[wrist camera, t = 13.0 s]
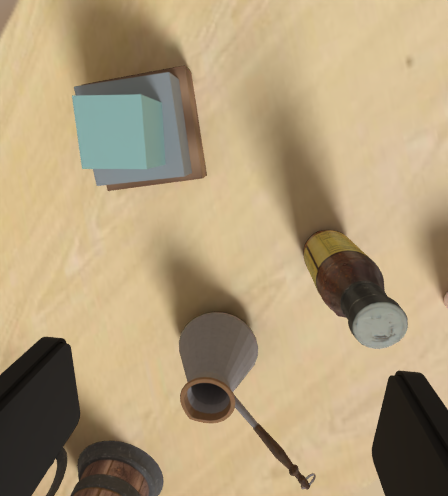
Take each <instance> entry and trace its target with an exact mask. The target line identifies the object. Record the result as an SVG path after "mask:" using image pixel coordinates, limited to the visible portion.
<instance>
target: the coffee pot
mask: <svg viewBox="0 0 448 496" xmlns="http://www.w3.org/2000/svg"><path fill="white" fill-rule="evenodd" d="M179 352H180V355H181V359H182V363H183V367H184V370H185V374H186V378H187V381H188V383H187V384H186V385H185V386H184V387H183V389H182V391H181V394H180V401H181V405H182V407H183V409H184V411H185V413H186V414H187V416H188V417H189V419H192V420H195V421H199V422H203V423H218V422H221V421H224V420H225V419H227V418H228V417H229V416H230V415H231V414H232V413H233V411H234V408H236V409H237V410H238V411H239V412H240V414H241V415H242V416H243V417H244V418H245V419H246V420H247V421H248V423H249V424H250V425H251V426H252V427H253V429H254V430H255V432H256V433H257V434H258V435H259V437H260V438H261V439H262V441H263V442H264V443H265V444H266V446H267V447H268V448H269V450H270V451H271V452H272V454H273V455H274V456H275V457H276V458H277V459H278V460H279V461H280V462H281V463H282V464H283V465H284V466H286V467H287V468H288V469H289V473H290V475H292V476H295V477H296V478H297V479H298V481H299V483H300V484H301V488H302V489H307V490H308V489H309V488H310V485H311V484H312V482H313V481H314V480H315V477H316V476H315V474H310V475H308V476H307V477H306V478H305V477H304V476H303V475H301V473H300V472H299V470H298V466H297V465H293V464H292V462H291V461H290V459H289V458H288V456H287V455H286V453H285V452H284V450H283V449H282V448H281V447H280V445H279V444H278V443H277V442H276V441H275V440H274V439H273V438H272V437H271V436H270V435H269V434H268V433H267V432H266V431H265V430H264V429H263V428H262V427H261V426H260V424H259V423H257V422H256V421H255V419H254V418H253V417H252V416H251V415H250V413H249V412H248V411H247V410H246V409H245V407H244V406H243V405H242V404H241V402H240V401H239V400H238V399H237V398H236V396H235V395H234V394H233V391H234V390H235V389H236V388H237V386H238V385H239V384H240V383H241V381H242V380H243V379H244V378H245V376H246V375H247V374H248V373H249V371H250V370H251V369H252V367H253V366H254V364H255V362H256V359H257V356H258V345H257V341H256V337H255V335H254V334H253V332H252V330H251V329H250V328H249V327H248V326H247V325H246V324H245V323H244V322H243V321H242V320H241V319H239V318H237V317H235V316H234V315H231V314H227V313H224V312H211V313H205V314H203V315H201V316H198V317H196V318H194V319H193V320H192V321H191V322H189V323H188V324H187V325H186V327H185V328H184V330H183V331H182V333H181V336H180V340H179ZM313 475H314V477H313V479H312V481H311V482H310V483H308V481H307V479H308V478H309V477H311V476H313Z"/></svg>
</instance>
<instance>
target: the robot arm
mask: <svg viewBox="0 0 448 496" xmlns="http://www.w3.org/2000/svg"><path fill="white" fill-rule="evenodd" d="M79 418H80V407H79V400H78V394H77V387H76V380H75V373H74V366H73V359H72V352H71V347H70V345H69V344H67V343H66V341H65V339H63V338H54V337H43V338H41V339H40V340H39V341H38V342H36V343H35V344H34V345H33V346H32V347H31V348H30V349H29V350H28V351H26V352H25V353H24V354H23V355H22V356H21V357H20V358H19V359H18V360H16V361H15V362H14V363H13V364H12V365H11V366H10V367H9V368H8V369H6V370H5V371H4V372H3V373H2V374H1V375H0V496H31V495H32V494H33V492H34V491H35V489H36V488H37V486H38V485H39V483H40V482H41V480H42V478H43V477H44V475H45V474H46V472H47V471H48V469H49V468H50V466H51V465H52V463H53V461H54V460H55V458H56V457H57V455H58V454H59V452H60V451H61V449H62V448H63V446H64V444H65V443H66V441H67V440H68V438H69V437H70V435H71V434H72V432H73V431H74V429H75V427H76V426H77V424H78V421H79ZM372 457H373V462H374V465H375V468H376V471H377V474H378V476H379V479H380V482H381V485H382V488H383V491H384V493H385V496H448V410H447V408H446V407H445V405H444V404H443V402H442V401H441V399H440V398H439V397H438V395H437V394H436V392H435V391H434V389H433V388H432V386H431V385H430V384H429V382H428V381H427V379H426V378H425V376H424V375H423V374H421V373H418V372H408V371H397V372H396V374H395V376H390V377H389V379H388V383H387V387H386V391H385V395H384V400H383V404H382V408H381V412H380V416H379V420H378V424H377V429H376V433H375V437H374V441H373V445H372Z"/></svg>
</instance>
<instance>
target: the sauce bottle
mask: <svg viewBox="0 0 448 496" xmlns="http://www.w3.org/2000/svg"><path fill="white" fill-rule="evenodd" d="M304 260H305V264H306V266H307V268H308V270H309V272H310V274H311V277H312V279H313V281H314V283H315V286H316V288H317V290H318V292H319V294H320V295H321V296H322V299H323V300H324V302H325V304H327V305H328V307H329V308H330V309H331V310H333V311H334V312H335V313H336V315H338V316H341V317H346V318H347V319H348V324H349V328H350V330H351V332H352V334H353V335H354V336H355V338H356V339H357V340H358V341H359V342H360V343H361V344H362V345H365V346H367V347H369V348H374V349H381V348H386V347H389V346H391V345H393V344H395V343H397V342H399V341H400V340H401V339H402V338H403V337H404V335H405V333H406V331H407V328H408V322H407V316H406V314H405V312H404V311H403V310H402V309H401V307H400V306H399V304H398V303H397V302H395V301H394V300H393V299H391V298H389V297H388V296H387V295H386V293H385V291H384V279H383V276H382V273H381V271H380V269H379V268H378V266H377V265H376V264H375V263H374V262H373V261H372V260H371V259H370V258H369V257H368V256H367V255H366V254H365V253H364V252H362V251H361V250H360V249H359V248H358V247H357V246H356V245H355V244H354V243H353V242H352V241H351V240H350V239H349V238H348V237H346V236H345V235H344V234H342V233H340V232H337V231H333V230H324V231H318V232H316V233H315V234H314V235H312V236H311V237H310V238H309V239H308V241H307V242H306V244H305V246H304Z"/></svg>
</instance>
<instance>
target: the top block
mask: <svg viewBox="0 0 448 496" xmlns="http://www.w3.org/2000/svg"><path fill="white" fill-rule="evenodd" d="M74 90H75V94H76V96H81V95H137V94H141V95H144V96H146V97H149V98H151V99H154V100H156V101H159V102H161V103H162V115H163V131H164V148H165V165H161V166H157V167H153V168H149V169H93V171H94V176H95V180H96V184H97V186H101V185H110V184H119V183H129V182H138V181H147V180H156V179H166V178H175V177H184V176H187V175H189V174H191V173H192V169H191V162H190V155H189V148H188V141H187V134H186V127H185V119H184V112H183V105H182V98H181V91H180V84H179V79H178V78H176V77H175V76H174V75H172V74H171V73H170V72H166V73H160V74H153V75H147V76H140V77H134V78H127V79H121V80H114V81H108V82H101V83H95V84H88V85H82V86H75V87H74Z"/></svg>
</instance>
